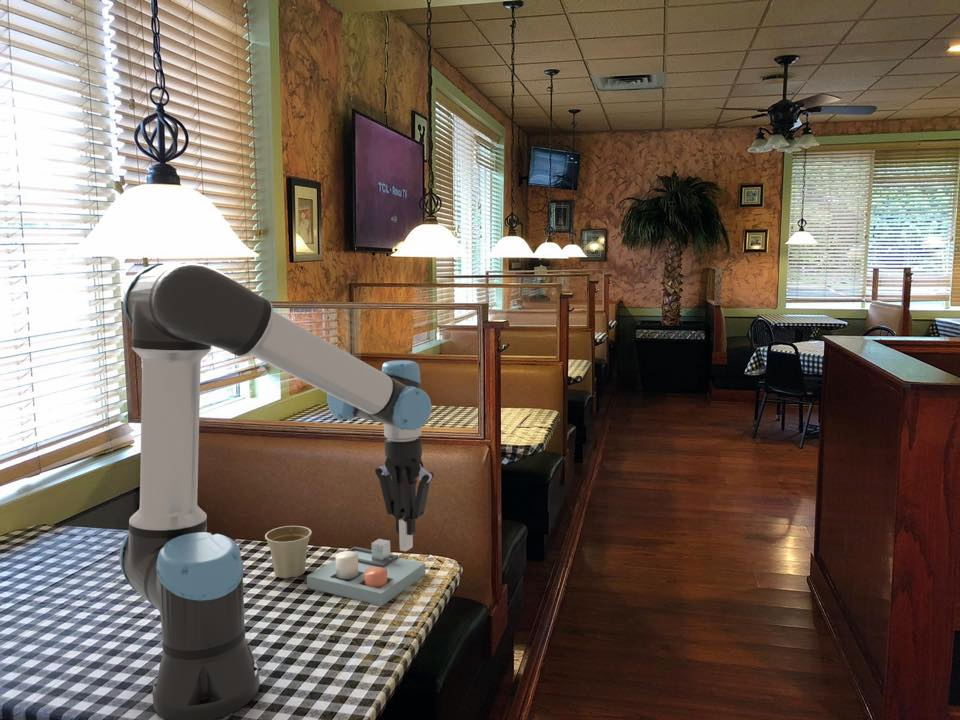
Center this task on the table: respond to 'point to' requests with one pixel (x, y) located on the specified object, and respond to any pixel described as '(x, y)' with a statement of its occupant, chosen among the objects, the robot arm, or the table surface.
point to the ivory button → (346, 564)
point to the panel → (398, 578)
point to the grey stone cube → (380, 551)
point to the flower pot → (288, 550)
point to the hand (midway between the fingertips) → (406, 548)
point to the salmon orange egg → (376, 577)
